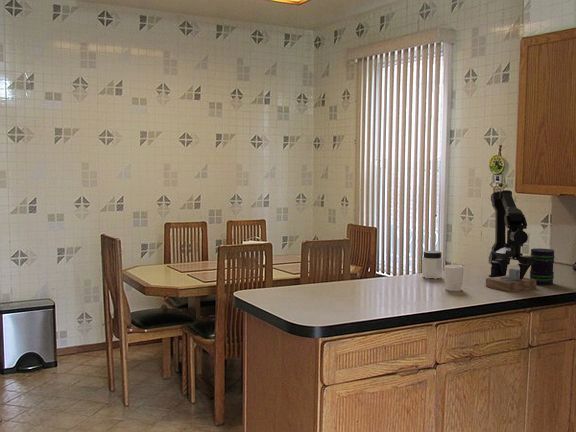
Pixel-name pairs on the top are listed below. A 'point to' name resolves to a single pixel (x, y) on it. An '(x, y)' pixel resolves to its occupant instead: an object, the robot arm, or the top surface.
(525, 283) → the well block
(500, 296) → the top surface
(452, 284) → the white cup
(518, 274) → the grey stepped block
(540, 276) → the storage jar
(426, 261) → the jar
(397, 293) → the top surface
